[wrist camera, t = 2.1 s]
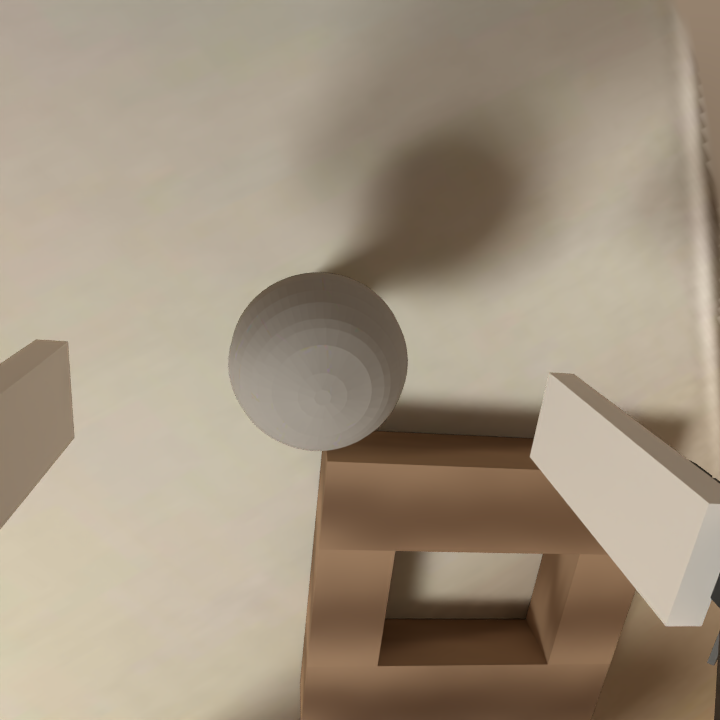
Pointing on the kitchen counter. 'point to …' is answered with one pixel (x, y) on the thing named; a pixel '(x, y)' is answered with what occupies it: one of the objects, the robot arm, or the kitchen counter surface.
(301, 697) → the holder
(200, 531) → the kitchen counter surface
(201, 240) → the kitchen counter surface
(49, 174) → the kitchen counter surface
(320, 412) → the light bulb
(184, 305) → the kitchen counter surface
